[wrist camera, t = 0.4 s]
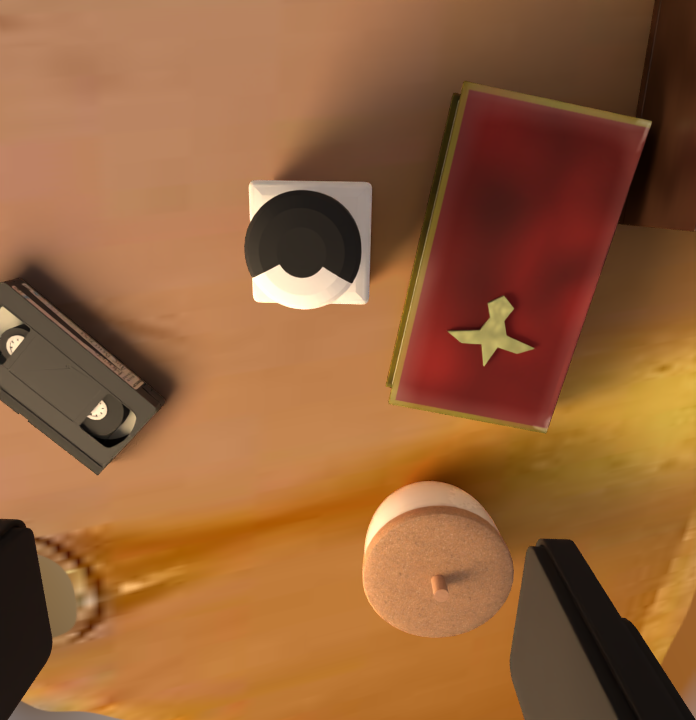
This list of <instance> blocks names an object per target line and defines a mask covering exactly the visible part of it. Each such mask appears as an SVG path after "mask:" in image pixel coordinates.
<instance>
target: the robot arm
mask: <svg viewBox="0 0 696 720" xmlns="http://www.w3.org/2000/svg"><path fill="white" fill-rule="evenodd" d="M51 649H52V634H51V629H50V624H49V618H48V612H47V607H46V601H45V595H44V590H43V584H42V579H41V573H40V567H39V563H38V556H37V551H36V545H35V539H34V534H33V531H32V530H31V529H29V528H26V526H25V524H24V522H23V521H21V520H17V519H0V720H8V718H9V717H10V715H11V714H12V712H13V711H14V710H15V708H16V707H17V705H18V703H19V702H20V701H21V699H22V698H23V696H24V695H25V693H26V692H27V690H28V689H29V687H30V686H31V684H32V683H33V681H34V680H35V678H36V677H37V675H38V674H39V672H40V671H41V669H42V668H43V666H44V665H45V664H46V662H47V660H48V658H49V656H50V653H51ZM510 671H511V677H512V681H513V684H514V687H515V690H516V694H517V697H518V700H519V703H520V706H521V709H522V712H523V715H524V719H525V720H695V718H694V716H693V715H692V713H691V712H690V710H689V709H688V707H687V706H686V704H685V703H684V701H683V699H682V698H681V696H680V695H679V693H678V692H677V690H676V689H675V687H674V686H673V684H672V683H671V681H670V679H669V678H668V676H667V675H666V673H665V672H664V670H663V669H662V667H661V665H660V664H659V662H658V661H657V659H656V658H655V656H654V655H653V653H652V652H651V650H650V649H649V647H648V645H647V644H646V642H645V641H644V639H643V638H642V636H641V635H640V633H639V632H638V630H637V629H636V627H635V626H634V625H633V624H632V623H631V622H630V621H629V620H627V619H626V618H621V616H620V615H619V613H618V612H617V610H616V608H615V607H614V605H613V604H612V602H611V600H610V599H609V597H608V596H607V594H606V592H605V591H604V589H603V588H602V586H601V584H600V583H599V581H598V580H597V578H596V577H595V575H594V573H593V572H592V570H591V569H590V567H589V565H588V564H587V562H586V561H585V559H584V557H583V556H582V554H581V553H580V551H579V549H578V548H577V546H576V545H575V543H574V542H573V541H572V540H568V539H539V540H538V541H537V543H536V546H530V547H528V549H527V552H526V558H525V564H524V571H523V577H522V583H521V590H520V596H519V603H518V609H517V616H516V622H515V628H514V635H513V641H512V648H511V654H510Z"/></svg>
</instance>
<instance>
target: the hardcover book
mask: <svg viewBox="0 0 696 720" xmlns="http://www.w3.org/2000/svg"><path fill="white" fill-rule="evenodd" d="M651 124H652V121H649V120H644V119H640V118H635V117H630V116H626V115H621V114H616V113H612V112H607V111H603V110H598V109H593V108H589V107H584V106H579V105H575V104H570V103H565V102H561V101H556V100H551V99H547V98H542V97H537V96H533V95H528V94H523V93H519V92H514V91H509V90H505V89H500V88H495V87H491V86H486V85H482V84H477V83H472V82H468V81H464V82H463V86H462V90H461V94H458V93H453V96H452V101H451V105H450V109H449V114H448V118H447V122H446V127H445V131H444V135H443V140H442V144H441V148H440V153H439V157H438V161H437V166H436V170H435V174H434V179H433V183H432V187H431V192H430V196H429V200H428V205H427V209H426V213H425V218H424V222H423V226H422V231H421V235H420V239H419V244H418V248H417V252H416V257H415V261H414V265H413V270H412V274H411V278H410V283H409V287H408V291H407V296H406V300H405V304H404V309H403V313H402V317H401V322H400V326H399V330H398V335H397V339H396V343H395V348H394V352H393V356H392V361H391V365H390V369H389V374H388V378H387V382H386V387H391V388H392V389H391V393H390V397H389V401H388V402H389V404H392V405H398V406H403V407H408V408H414V409H419V410H424V411H429V412H435V413H440V414H445V415H451V416H456V417H461V418H466V419H472V420H477V421H482V422H488V423H493V424H498V425H504V426H509V427H514V428H519V429H525V430H530V431H535V432H541V433H546V432H547V430H548V427H549V424H550V421H551V418H552V415H553V412H554V409H555V406H556V403H557V401H558V398H559V395H560V392H561V389H562V386H563V383H564V380H565V377H566V374H567V371H568V368H569V365H570V362H571V359H572V356H573V354H574V351H575V348H576V345H577V342H578V339H579V336H580V333H581V330H582V327H583V324H584V321H585V318H586V315H587V312H588V309H589V307H590V304H591V301H592V298H593V295H594V292H595V289H596V286H597V283H598V280H599V277H600V274H601V271H602V268H603V265H604V262H605V260H606V257H607V254H608V251H609V248H610V245H611V242H612V239H613V236H614V233H615V230H616V227H617V224H618V221H619V218H620V215H621V213H622V210H623V207H624V204H625V201H626V198H627V195H628V192H629V189H630V186H631V183H632V180H633V177H634V174H635V171H636V168H637V166H638V163H639V160H640V157H641V154H642V151H643V148H644V145H645V142H646V139H647V136H648V133H649V130H650V127H651Z"/></svg>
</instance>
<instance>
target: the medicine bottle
mask: <svg viewBox="0 0 696 720" xmlns="http://www.w3.org/2000/svg"><path fill="white" fill-rule="evenodd" d="M249 202H250V224H249V227H248V229H247V233H246V237H245V246H244V247H245V258H246V263H247V267H248V270H249V272H250V274H251V276H252V280H253V297H254V300H255V301H257V302H274V303H280V304H282V305H284V306H287V307H291V308H296V309H314V308H318V307H322V306H325V305H327V304H366V303H367V302H368V300H369V281H370V247H371V212H372V186H371V184H370V183H368V182H342V181H283V180H253V181H251V182H250V184H249Z"/></svg>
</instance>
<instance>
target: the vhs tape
mask: <svg viewBox="0 0 696 720" xmlns="http://www.w3.org/2000/svg"><path fill="white" fill-rule="evenodd" d="M0 400H1V401H2V402H3V403H5V404H6V405H7V406H9V407H10V408H11V409H13V410H14V411H15V412H16V413H18V414H19V413H20V414H21V415H22V416H24V417H25V418H26V419H28V422H29V423H31V424H32V425H33V426H34V427H36V428H37V429H38V430H40V431H41V432H42V433H44V434H45V435H46V436H47V437H49V438H50V439H51V440H53V441H54V442H55V443H56V444H58V445H59V446H60V447H62V448H63V449H64V450H65V451H67V452H68V453H69V454H71V455H72V456H73V457H75V458H76V459H77V460H78V461H80V462H81V463H82V464H84V465H85V466H86V467H87V468H89V469H90V470H91V471H93V472H94V473H95V474H96V475H99V474H100V472H101V471H102V470H103V469H104V468H105V467H106V466H107V465H108V464H109V463H110V462H111V461H112V460H113V459H114V458H115V457H116V455H117V454H118V453H119V452H120V451H121V450H122V449H123V448H124V447H125V446H126V445H127V444H128V443H129V442H130V440H131V439H132V438H133V437H134V436H135V435H136V434H137V433H138V432H139V431H140V430H141V429H142V428H143V427H144V426H145V424H146V423H147V422H148V421H149V420H150V419H151V418H152V417H153V416H154V415H155V414H156V413H157V412H158V411H159V410H160V408H161V407H162V406H163V405H164V404H165V399H164V397H162V396H161V395H160V394H159V393H158V392H156V391H155V390H154V389H153V388H152V387H150V386H149V385H148V384H147V383H146V382H144V381H143V380H142V379H141V378H140V377H139V376H137V375H136V374H135V373H134V372H133V371H131V370H130V369H129V368H128V367H127V366H125V365H124V364H123V363H122V362H121V361H119V360H118V359H117V358H116V357H115V356H113V355H112V354H111V353H110V352H109V351H107V350H106V349H105V348H104V347H103V346H101V345H100V344H99V343H98V342H97V341H95V340H94V339H93V338H92V337H91V336H90V335H88V334H87V333H86V332H85V331H84V330H82V329H81V328H80V327H79V326H78V325H76V324H75V323H74V322H73V321H72V320H70V319H69V318H68V317H67V316H66V315H64V314H63V313H62V312H61V311H60V310H58V309H57V308H56V307H55V306H54V305H52V304H51V303H50V302H49V301H48V300H46V299H45V298H44V297H43V296H42V295H41V294H39V293H38V292H37V291H36V290H35V289H33V288H32V287H31V286H30V285H29V284H27V283H26V282H25V281H24V280H23V279H19V278H18V279H13V280H9V281H5V282H1V283H0Z"/></svg>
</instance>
